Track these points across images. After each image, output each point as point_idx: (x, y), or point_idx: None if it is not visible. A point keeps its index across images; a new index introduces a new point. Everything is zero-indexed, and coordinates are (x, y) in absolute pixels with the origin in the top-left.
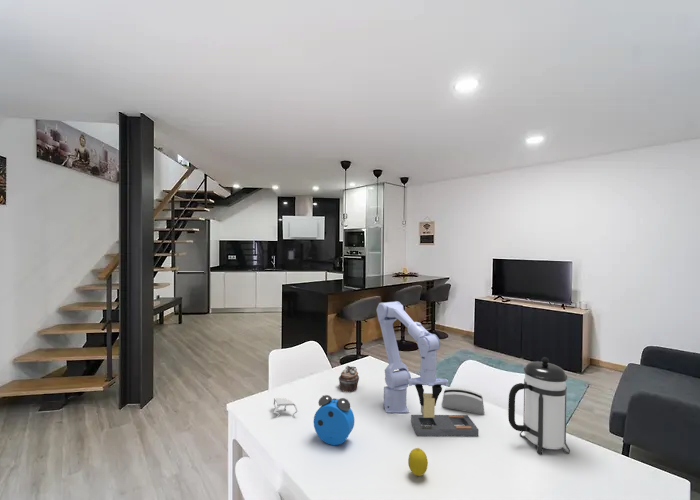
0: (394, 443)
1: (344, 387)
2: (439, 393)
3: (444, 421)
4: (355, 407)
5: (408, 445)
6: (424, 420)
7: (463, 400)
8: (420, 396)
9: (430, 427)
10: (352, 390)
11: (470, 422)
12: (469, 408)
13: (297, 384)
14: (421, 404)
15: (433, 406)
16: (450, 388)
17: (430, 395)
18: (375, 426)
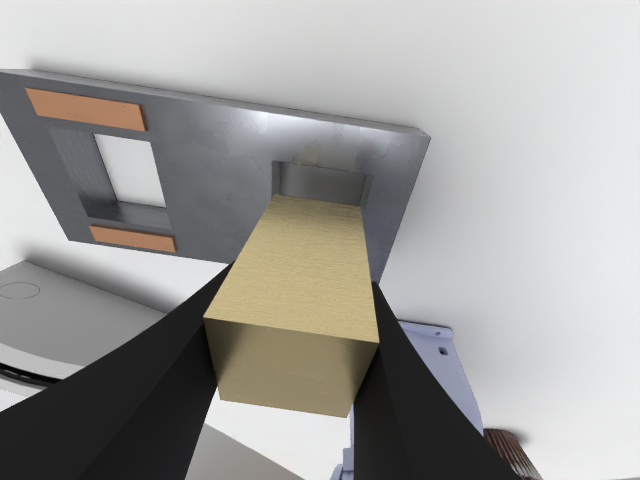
0: (629, 59)
1: (520, 450)
2: (51, 389)
3: (209, 200)
4: (548, 370)
5: (550, 14)
6: None
7: (65, 328)
8: (429, 378)
9: (324, 144)
10: (487, 434)
11: (45, 166)
12: (72, 293)
13: (628, 471)
14: (378, 289)
15: (259, 244)
16: None
17: (249, 375)
18: (582, 251)
